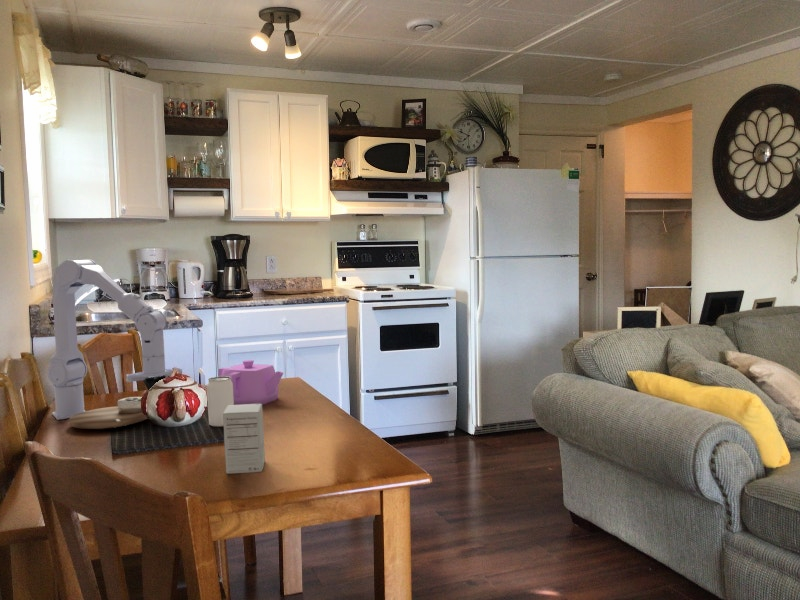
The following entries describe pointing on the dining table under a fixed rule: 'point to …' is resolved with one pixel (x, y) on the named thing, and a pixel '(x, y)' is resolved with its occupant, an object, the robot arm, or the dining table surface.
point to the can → (219, 399)
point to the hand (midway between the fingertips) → (156, 404)
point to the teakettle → (253, 382)
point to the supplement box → (244, 438)
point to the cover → (129, 405)
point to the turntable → (104, 418)
